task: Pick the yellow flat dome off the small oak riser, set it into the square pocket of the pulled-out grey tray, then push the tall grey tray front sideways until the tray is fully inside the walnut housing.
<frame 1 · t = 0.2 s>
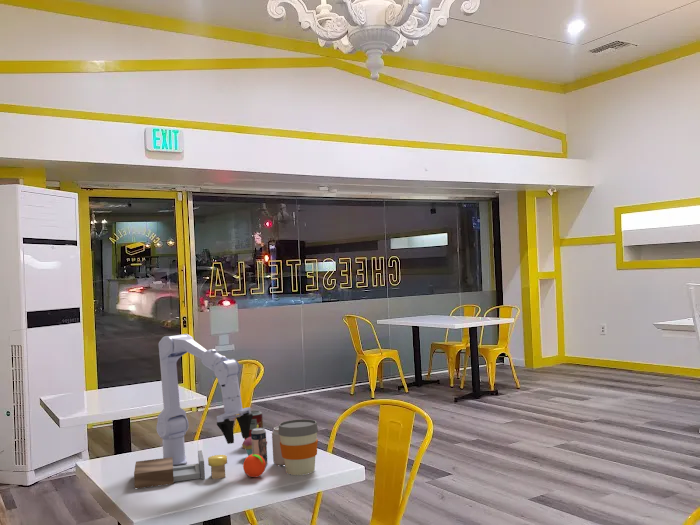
hand: (238, 440, 209), 10 cm above the table, tool pointing down, fingers open, 7 cm apart
beer can: (260, 466, 217), on the table
reusable coffee cup: (300, 471, 209), on the table
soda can: (254, 445, 247), on the table
tray: (184, 466, 211), point 3 cm above the table, slide at 8.0 cm
yellow flat dome: (217, 463, 208), point 4 cm above the table, touching riser
riser: (218, 476, 208), on the table
housing: (155, 479, 208), on the table
clementine: (256, 477, 205), on the table
cupcake: (255, 457, 229), on the table
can: (284, 464, 218), on the table
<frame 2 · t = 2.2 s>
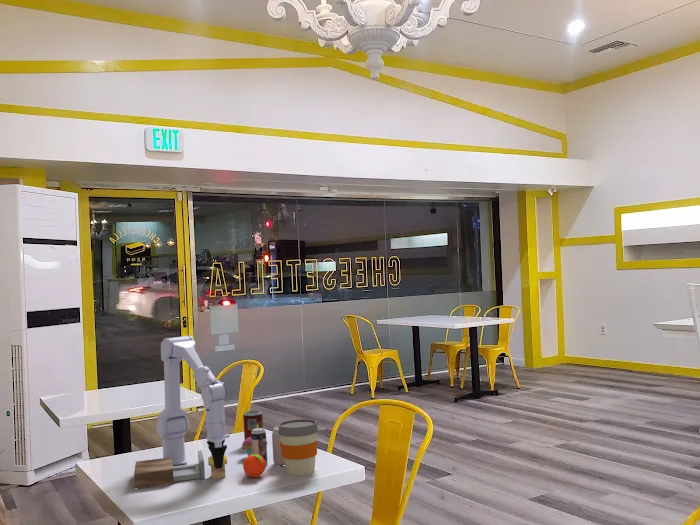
hand: (217, 465, 208), 3 cm above the table, tool pointing down, fingers closed on yellow flat dome, 6 cm apart
yellow flat dome: (217, 463, 208), point 4 cm above the table, touching gripper, riser
everything else where it was.
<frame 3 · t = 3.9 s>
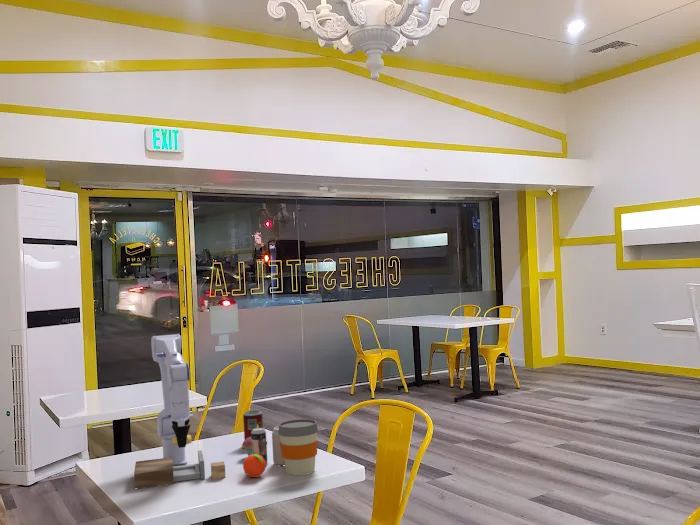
hand: (181, 444, 211), 10 cm above the table, tool pointing down, fingers closed on yellow flat dome, 6 cm apart
yellow flat dome: (182, 443, 211), point 10 cm above the table, touching gripper
everything else where it was.
when the fingers open (2 cm above the table, at t = 5.9 s): yellow flat dome drops 2 cm, resting on tray.
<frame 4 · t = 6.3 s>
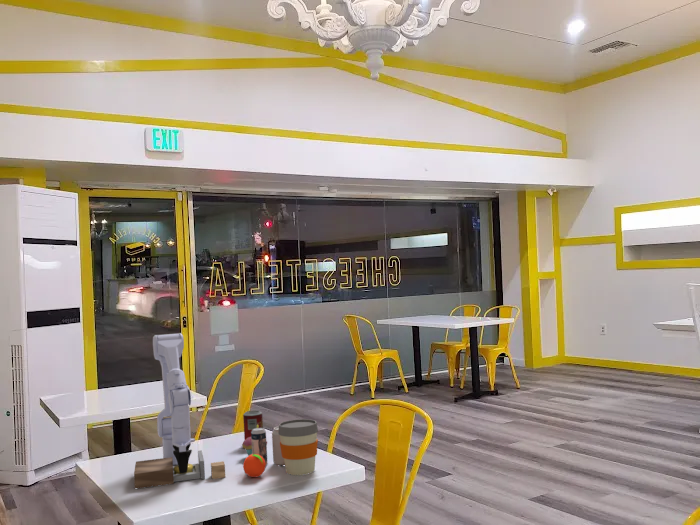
hand: (183, 469, 211), 2 cm above the table, tool pointing down, fingers open, 7 cm apart
tray: (184, 466, 211), point 3 cm above the table, slide at 8.0 cm, touching yellow flat dome
yellow flat dome: (183, 472, 211), point 1 cm above the table, touching tray
everything else where it was.
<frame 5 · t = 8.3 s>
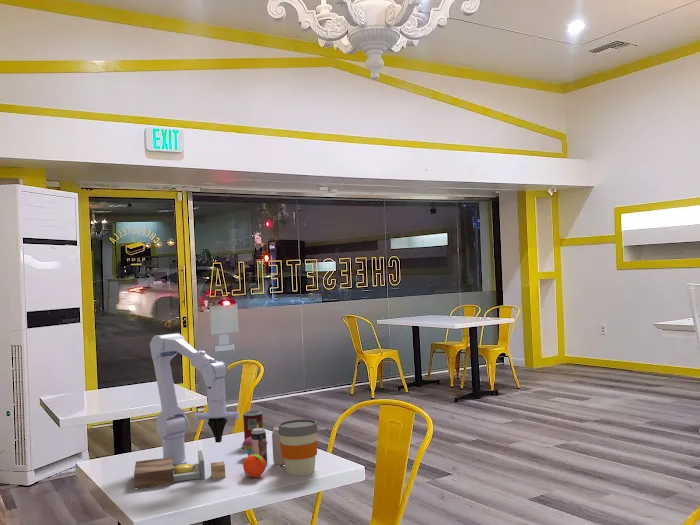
hand: (218, 441, 214), 9 cm above the table, tool pointing down, fingers closed
nothing on the table moved.
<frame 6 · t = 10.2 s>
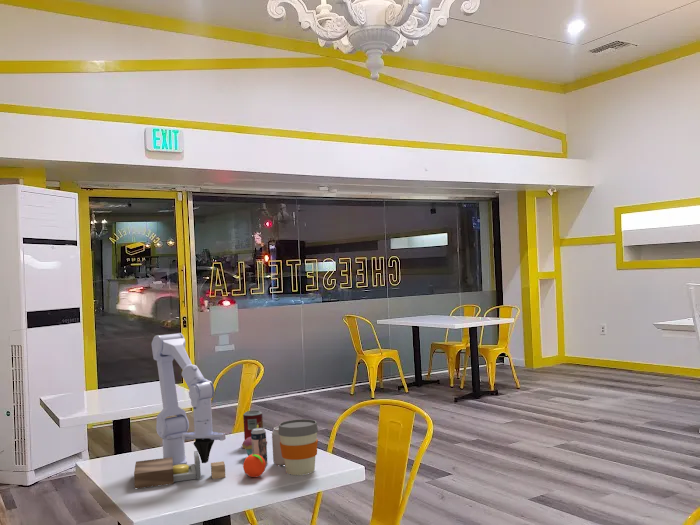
hand: (205, 462, 213), 3 cm above the table, tool pointing down, fingers closed
tray: (180, 466, 210), point 3 cm above the table, slide at 6.7 cm, touching yellow flat dome, gripper
yellow flat dome: (179, 473, 210), point 1 cm above the table, touching tray
everything else where it was.
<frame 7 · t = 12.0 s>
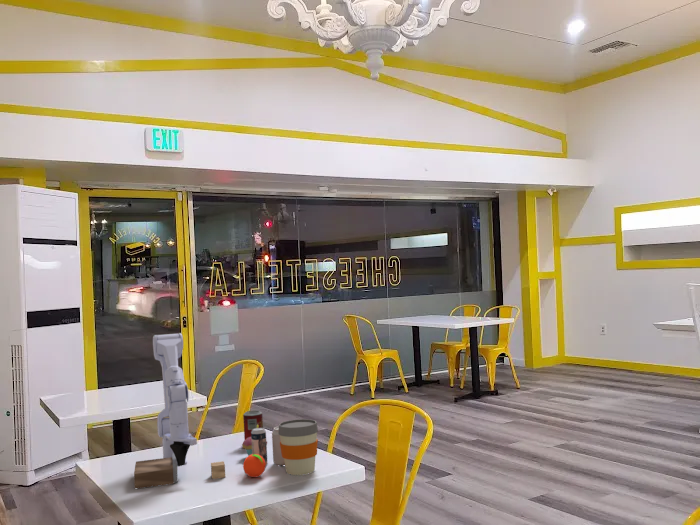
hand: (181, 465, 211), 3 cm above the table, tool pointing down, fingers closed, pressing on tray
tray: (158, 469, 209), point 3 cm above the table, slide at -0.2 cm, touching yellow flat dome, gripper, housing
yellow flat dome: (156, 476, 208), point 1 cm above the table, touching tray
everything else where it was.
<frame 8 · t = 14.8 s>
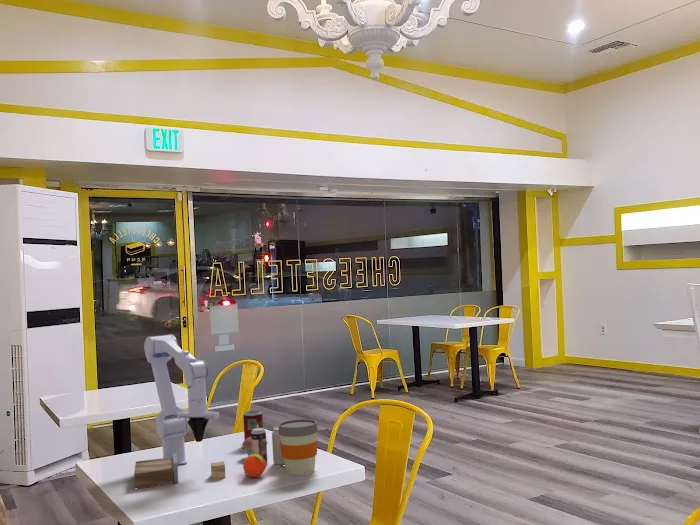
hand: (199, 441, 214), 10 cm above the table, tool pointing down, fingers closed
tray: (158, 469, 209), point 3 cm above the table, slide at 0.0 cm, touching yellow flat dome
everything else where it was.
at the end: tray slide at 0.0 cm; yellow flat dome inside the target area on the housing (0.8 cm from its centre), point 1.0 cm above the housing's base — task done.
